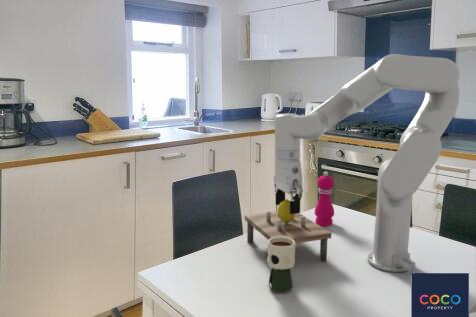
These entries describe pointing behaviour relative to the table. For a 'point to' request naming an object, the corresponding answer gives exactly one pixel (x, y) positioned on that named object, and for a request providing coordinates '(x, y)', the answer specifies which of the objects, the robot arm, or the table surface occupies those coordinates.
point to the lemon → (285, 212)
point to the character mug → (281, 262)
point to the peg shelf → (288, 229)
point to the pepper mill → (324, 201)
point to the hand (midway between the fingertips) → (287, 208)
